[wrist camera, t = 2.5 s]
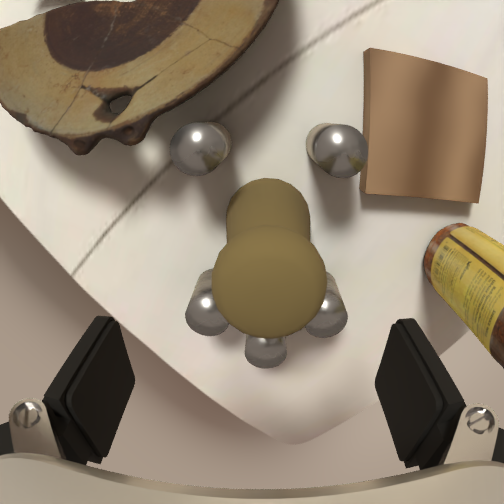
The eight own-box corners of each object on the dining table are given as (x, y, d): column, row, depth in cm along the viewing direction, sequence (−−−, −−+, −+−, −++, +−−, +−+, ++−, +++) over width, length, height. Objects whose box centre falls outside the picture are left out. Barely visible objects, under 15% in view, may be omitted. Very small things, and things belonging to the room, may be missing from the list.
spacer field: (349, 124, 20) (369, 127, 16) (328, 331, 27) (337, 367, 23) (187, 122, 20) (168, 124, 16) (202, 329, 27) (192, 364, 23)
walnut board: (476, 79, 17) (487, 78, 16) (468, 198, 21) (478, 203, 20) (363, 51, 18) (370, 47, 16) (359, 188, 22) (365, 193, 20)
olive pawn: (281, 271, 24) (289, 375, 14) (211, 232, 23) (172, 321, 13) (326, 206, 22) (372, 281, 12) (253, 161, 21) (241, 202, 11)
